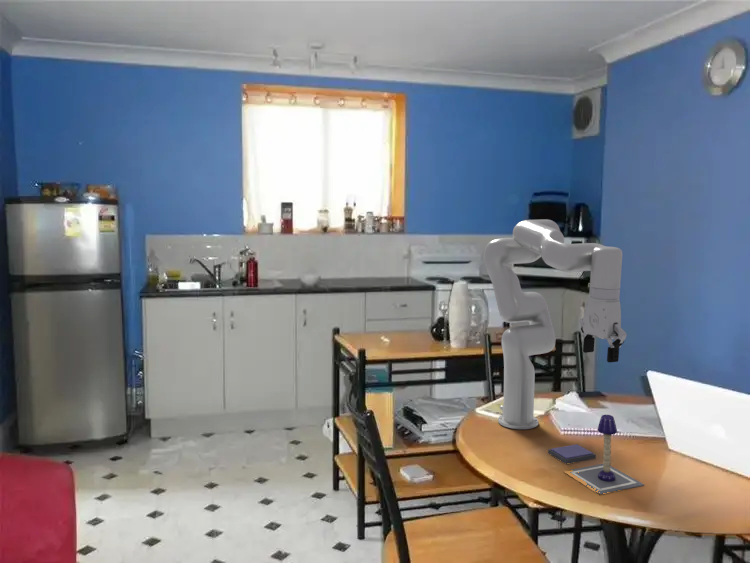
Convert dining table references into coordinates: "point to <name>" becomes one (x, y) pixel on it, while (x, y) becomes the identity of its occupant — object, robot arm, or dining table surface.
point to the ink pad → (572, 454)
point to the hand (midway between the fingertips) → (600, 356)
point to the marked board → (592, 480)
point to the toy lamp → (607, 446)
